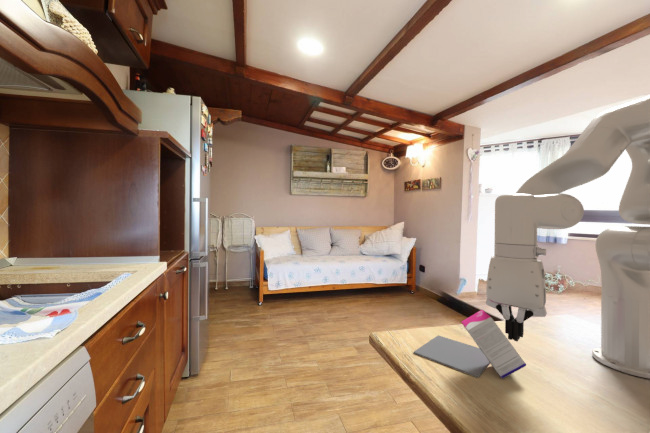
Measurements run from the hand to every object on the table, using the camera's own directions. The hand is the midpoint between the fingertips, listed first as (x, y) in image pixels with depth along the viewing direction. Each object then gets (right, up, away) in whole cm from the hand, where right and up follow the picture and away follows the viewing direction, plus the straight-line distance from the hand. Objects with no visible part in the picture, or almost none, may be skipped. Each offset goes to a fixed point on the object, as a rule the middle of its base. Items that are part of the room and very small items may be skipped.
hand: (514, 338), depth 59 cm
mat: (-9, -8, +9) cm, 14 cm away
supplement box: (-1, -6, 0) cm, 6 cm away
